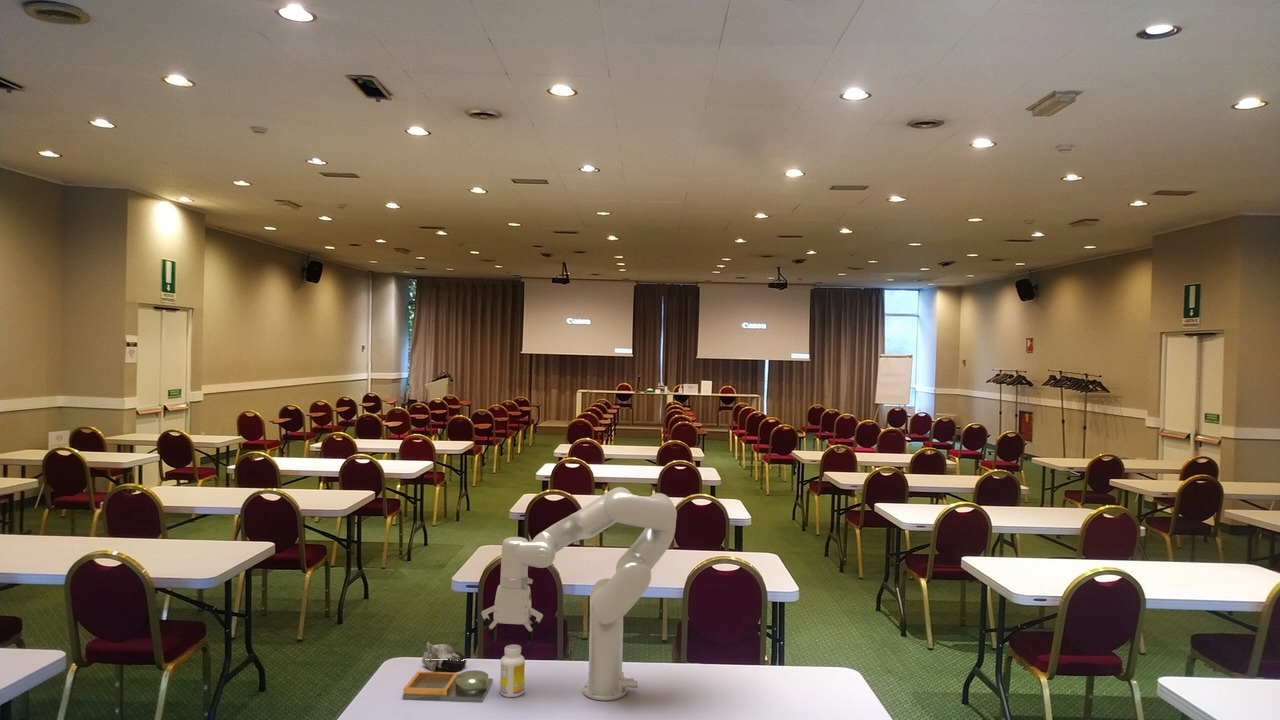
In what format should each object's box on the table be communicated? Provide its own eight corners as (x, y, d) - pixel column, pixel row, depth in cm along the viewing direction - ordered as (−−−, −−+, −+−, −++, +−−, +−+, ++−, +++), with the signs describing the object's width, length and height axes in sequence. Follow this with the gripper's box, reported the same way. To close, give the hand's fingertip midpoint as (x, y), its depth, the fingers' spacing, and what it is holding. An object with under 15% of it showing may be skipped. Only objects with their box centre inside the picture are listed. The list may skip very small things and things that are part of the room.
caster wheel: (467, 675, 235) (440, 680, 227) (446, 658, 242) (419, 662, 234) (473, 654, 235) (447, 659, 227) (452, 638, 242) (425, 641, 234)
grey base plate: (492, 682, 224) (493, 668, 224) (482, 702, 211) (482, 686, 211) (418, 680, 225) (418, 665, 225) (402, 699, 212) (403, 684, 212)
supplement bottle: (526, 688, 220) (527, 643, 220) (520, 698, 214) (521, 652, 214) (503, 687, 221) (504, 642, 221) (497, 697, 214) (498, 651, 214)
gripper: (546, 580, 221) (543, 640, 221) (486, 576, 221) (483, 636, 221) (542, 587, 213) (539, 649, 213) (480, 584, 214) (477, 645, 214)
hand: (510, 642), depth 217 cm, fingers open, 9 cm apart
